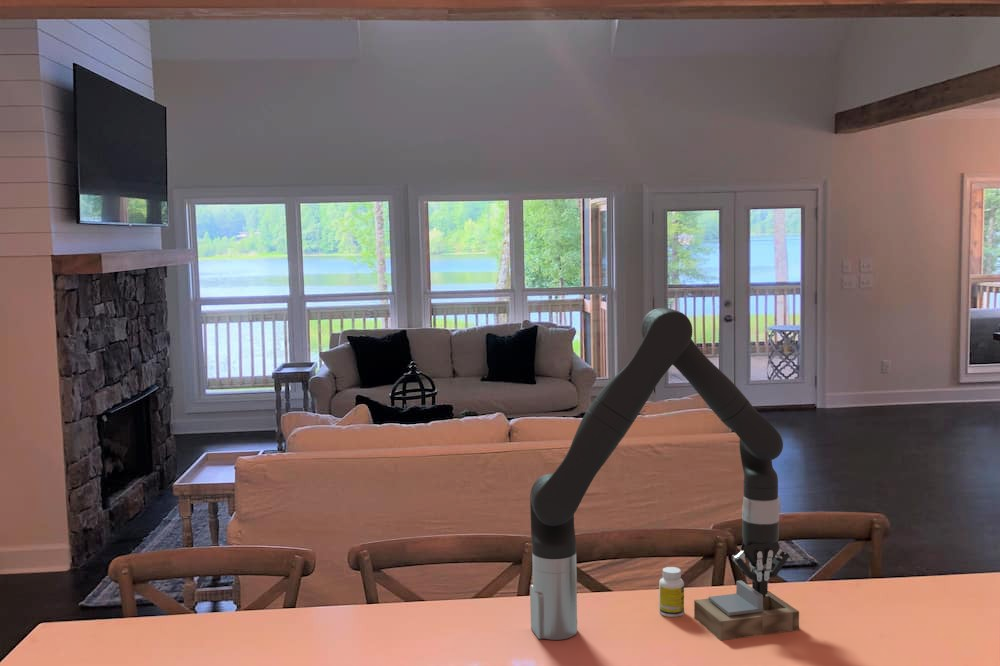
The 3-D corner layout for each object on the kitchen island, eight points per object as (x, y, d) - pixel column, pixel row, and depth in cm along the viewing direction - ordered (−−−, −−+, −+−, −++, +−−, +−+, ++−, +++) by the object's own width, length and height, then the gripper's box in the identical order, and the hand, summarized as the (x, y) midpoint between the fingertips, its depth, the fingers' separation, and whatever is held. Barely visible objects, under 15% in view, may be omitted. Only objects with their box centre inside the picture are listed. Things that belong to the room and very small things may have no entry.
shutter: (728, 615, 188) (728, 599, 188) (708, 599, 197) (708, 584, 196) (763, 611, 190) (763, 595, 190) (742, 595, 199) (742, 580, 198)
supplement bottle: (686, 617, 198) (686, 574, 197) (661, 618, 198) (661, 574, 197) (681, 608, 204) (681, 565, 203) (657, 608, 204) (657, 565, 203)
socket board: (720, 640, 186) (720, 621, 186) (694, 617, 198) (694, 600, 198) (798, 629, 191) (799, 611, 190) (768, 608, 202) (768, 591, 202)
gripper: (741, 525, 188) (740, 606, 189) (798, 519, 191) (797, 599, 193) (723, 515, 195) (723, 593, 197) (778, 509, 198) (778, 587, 200)
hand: (760, 596), depth 195 cm, fingers closed
